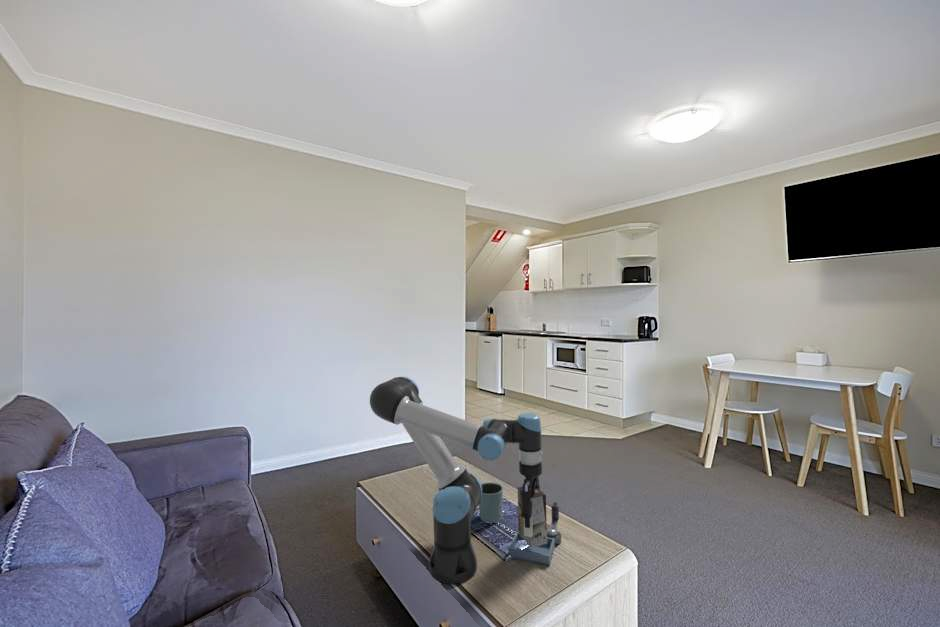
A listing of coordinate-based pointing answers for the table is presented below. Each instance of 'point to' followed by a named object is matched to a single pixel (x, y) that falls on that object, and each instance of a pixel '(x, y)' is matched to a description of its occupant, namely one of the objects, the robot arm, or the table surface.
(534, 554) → the tray
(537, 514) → the coffee box
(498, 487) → the green cup
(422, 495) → the table surface
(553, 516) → the crank
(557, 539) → the crank base
